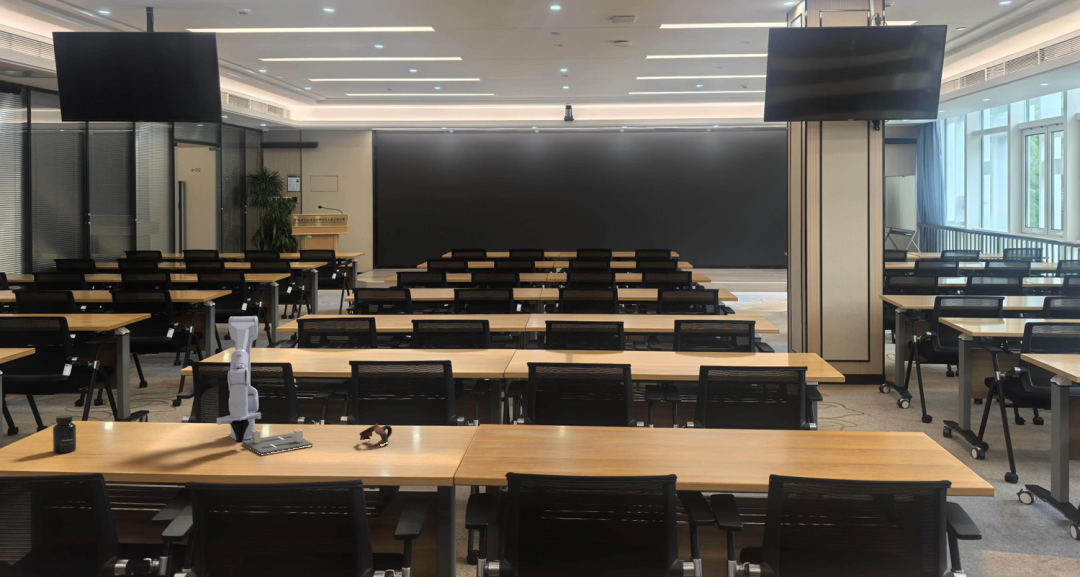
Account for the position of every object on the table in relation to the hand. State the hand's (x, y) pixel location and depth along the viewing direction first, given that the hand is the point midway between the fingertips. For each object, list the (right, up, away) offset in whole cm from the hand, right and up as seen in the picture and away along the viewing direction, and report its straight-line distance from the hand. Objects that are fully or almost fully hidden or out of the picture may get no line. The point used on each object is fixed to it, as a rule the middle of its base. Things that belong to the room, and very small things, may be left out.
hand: (239, 441), depth 282 cm
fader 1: (+4, -1, +4) cm, 6 cm away
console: (+12, -2, +5) cm, 13 cm away
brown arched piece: (+46, -3, +8) cm, 47 cm away
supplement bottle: (-57, -2, -5) cm, 58 cm away
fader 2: (+19, -1, +5) cm, 19 cm away
